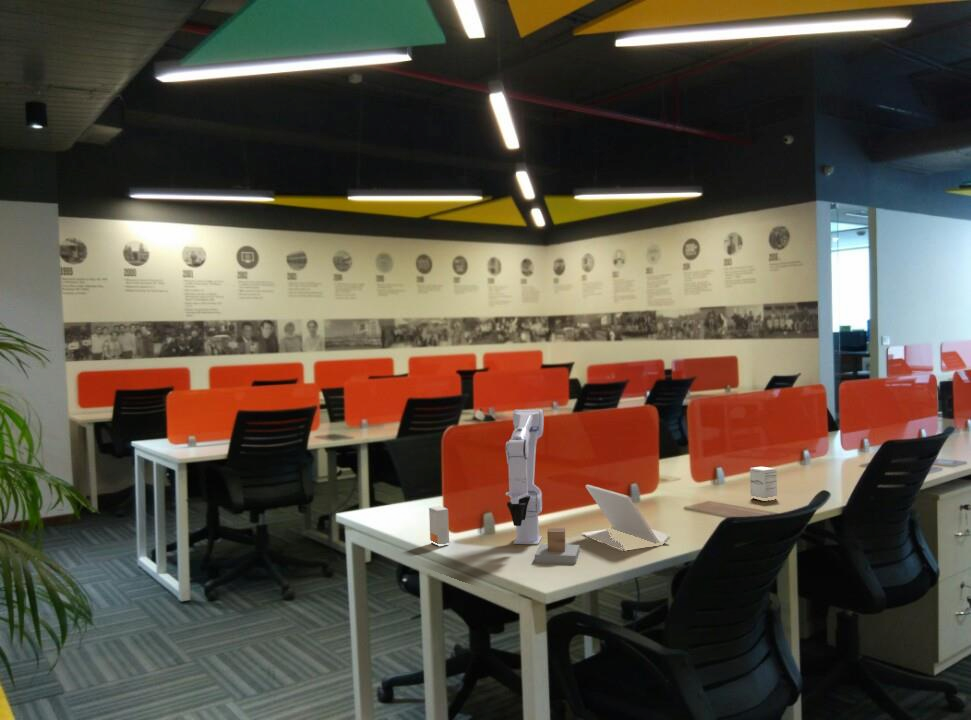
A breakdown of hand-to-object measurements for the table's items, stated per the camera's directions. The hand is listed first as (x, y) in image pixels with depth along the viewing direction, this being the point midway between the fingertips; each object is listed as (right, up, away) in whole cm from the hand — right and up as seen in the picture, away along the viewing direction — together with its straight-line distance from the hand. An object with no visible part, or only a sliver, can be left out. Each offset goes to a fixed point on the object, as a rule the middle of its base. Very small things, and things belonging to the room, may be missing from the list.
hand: (519, 522), depth 235 cm
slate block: (+11, -10, -6) cm, 16 cm away
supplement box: (+100, -5, +67) cm, 120 cm away
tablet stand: (+35, -9, +13) cm, 38 cm away
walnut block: (+11, -7, -6) cm, 14 cm away
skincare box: (-25, -10, +14) cm, 31 cm away
